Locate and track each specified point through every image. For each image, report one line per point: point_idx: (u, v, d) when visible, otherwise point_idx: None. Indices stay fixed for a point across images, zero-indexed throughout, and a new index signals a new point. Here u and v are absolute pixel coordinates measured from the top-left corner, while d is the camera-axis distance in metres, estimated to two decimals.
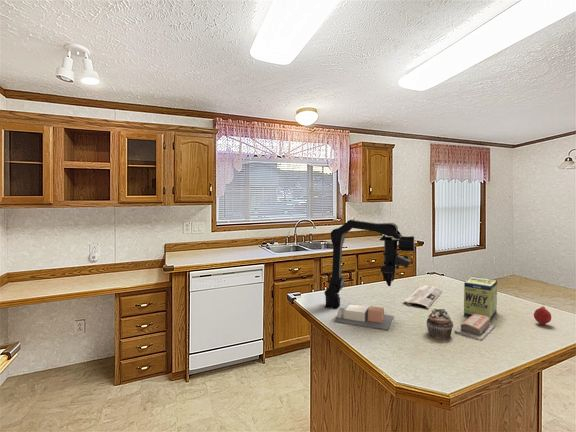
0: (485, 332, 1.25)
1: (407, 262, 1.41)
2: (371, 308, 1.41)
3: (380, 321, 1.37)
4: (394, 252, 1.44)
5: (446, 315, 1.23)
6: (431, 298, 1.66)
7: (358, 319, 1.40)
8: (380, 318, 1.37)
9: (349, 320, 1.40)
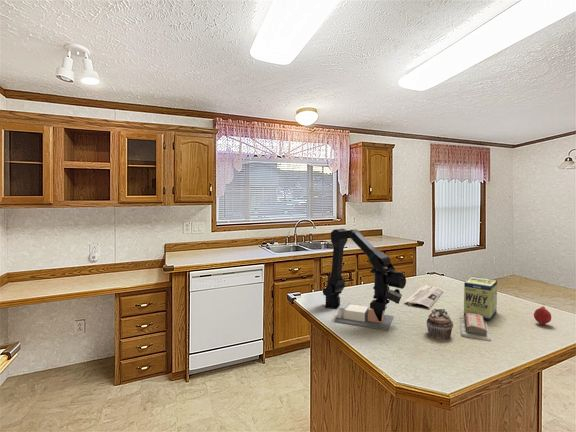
0: (487, 331, 1.26)
1: (398, 298, 1.33)
2: None
3: (380, 321, 1.37)
4: (384, 286, 1.36)
5: (446, 315, 1.23)
6: (432, 298, 1.65)
7: (358, 319, 1.40)
8: None
9: (349, 320, 1.40)
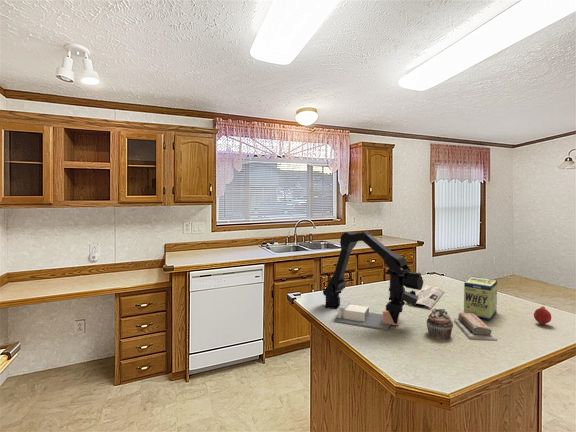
0: None
1: (414, 300, 1.30)
2: (386, 310, 1.38)
3: None
4: (400, 288, 1.33)
5: (446, 315, 1.23)
6: (433, 298, 1.65)
7: (358, 319, 1.40)
8: None
9: (349, 320, 1.40)
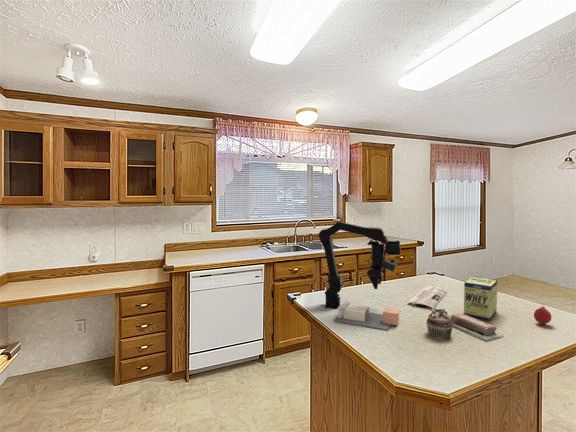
0: None
1: (393, 266, 1.46)
2: (386, 310, 1.38)
3: (396, 323, 1.34)
4: (380, 256, 1.48)
5: (446, 315, 1.23)
6: (436, 299, 1.64)
7: (358, 319, 1.40)
8: (396, 320, 1.34)
9: (349, 320, 1.40)
